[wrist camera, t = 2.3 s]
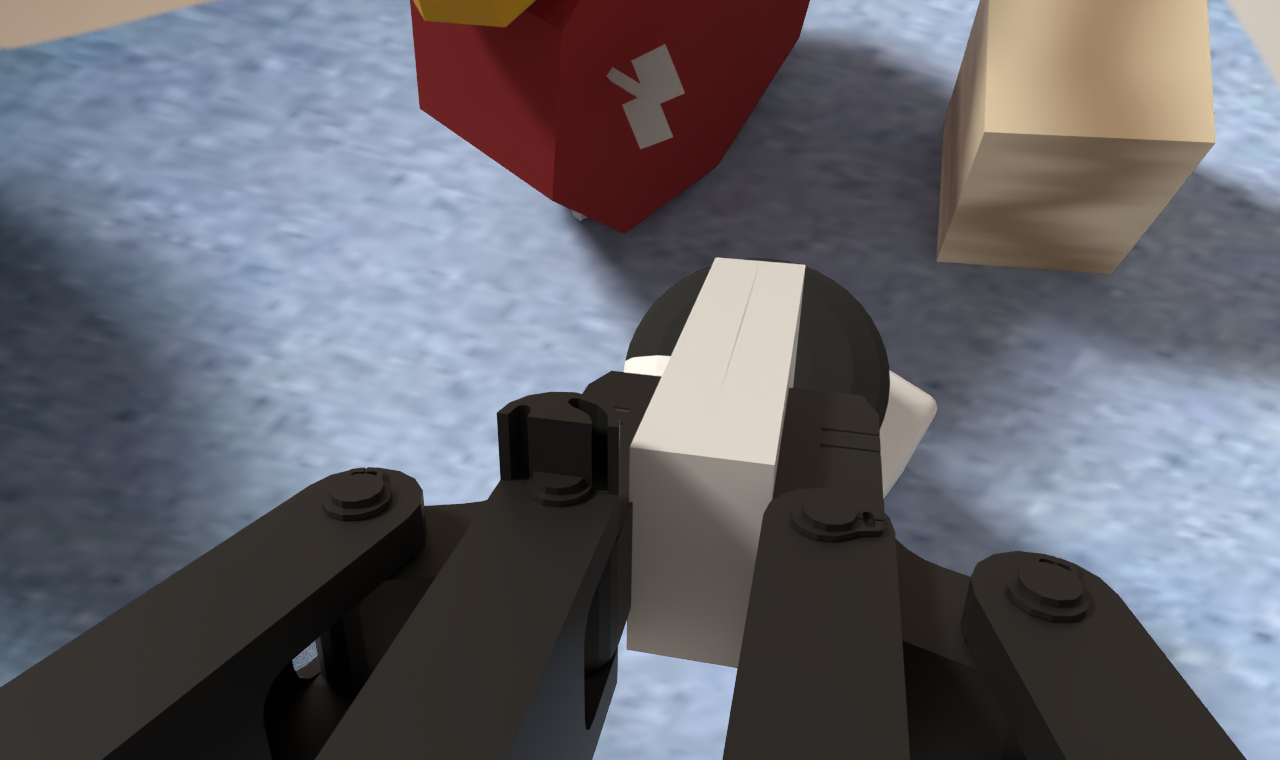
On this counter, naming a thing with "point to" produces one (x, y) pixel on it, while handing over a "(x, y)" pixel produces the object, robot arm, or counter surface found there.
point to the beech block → (1072, 129)
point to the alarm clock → (601, 89)
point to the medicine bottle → (811, 359)
